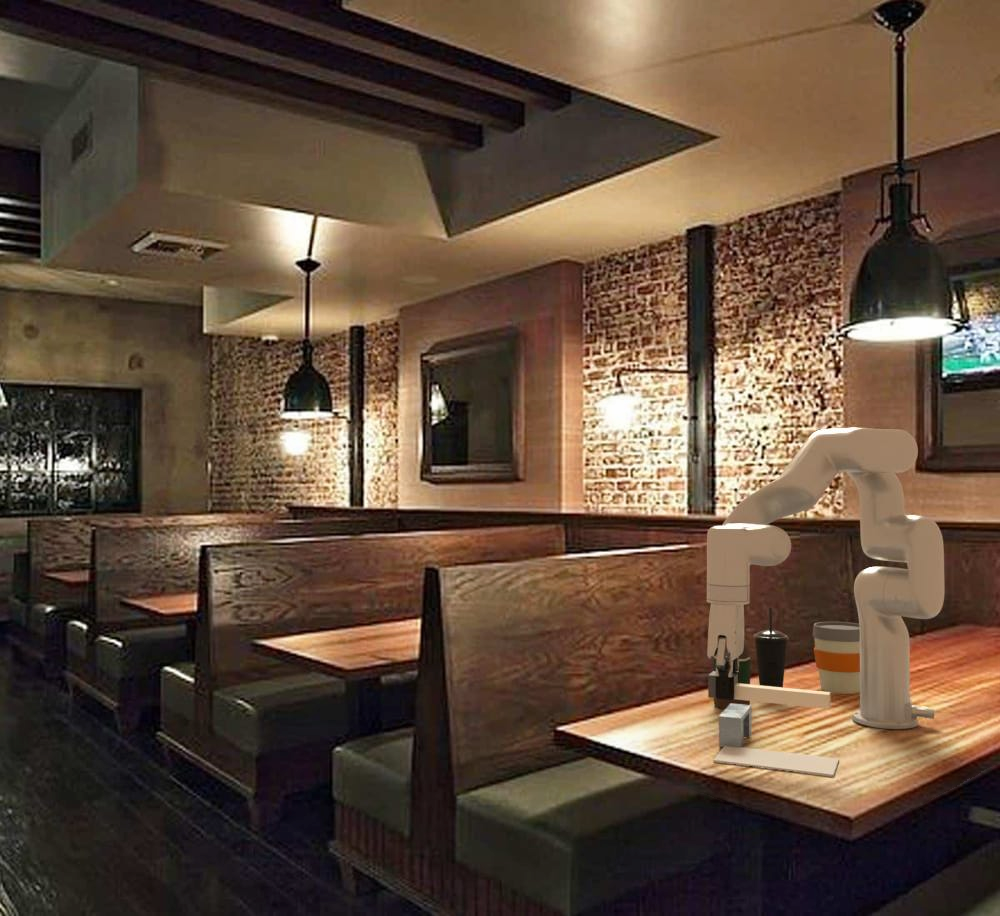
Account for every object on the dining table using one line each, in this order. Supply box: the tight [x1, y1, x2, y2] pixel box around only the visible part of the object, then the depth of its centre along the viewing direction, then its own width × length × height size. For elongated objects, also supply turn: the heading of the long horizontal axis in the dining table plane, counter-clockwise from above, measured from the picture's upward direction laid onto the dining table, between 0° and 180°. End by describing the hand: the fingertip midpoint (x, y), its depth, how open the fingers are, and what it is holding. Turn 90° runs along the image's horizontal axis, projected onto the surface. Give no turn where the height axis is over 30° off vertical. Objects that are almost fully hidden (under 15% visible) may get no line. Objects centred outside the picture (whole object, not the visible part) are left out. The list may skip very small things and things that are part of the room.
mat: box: [712, 746, 840, 778], centre depth 169 cm, size 20×10×1 cm, turn 65°
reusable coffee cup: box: [812, 621, 860, 695], centre depth 226 cm, size 13×13×15 cm
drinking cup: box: [753, 607, 789, 688], centre depth 220 cm, size 8×8×20 cm
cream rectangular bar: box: [707, 670, 831, 710], centre depth 170 cm, size 20×4×4 cm, turn 65°
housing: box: [718, 703, 753, 748], centre depth 182 cm, size 4×11×6 cm, turn 155°
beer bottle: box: [712, 637, 751, 710], centre depth 209 cm, size 8×8×24 cm
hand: (727, 695), depth 173 cm, fingers closed on cream rectangular bar, 4 cm apart
